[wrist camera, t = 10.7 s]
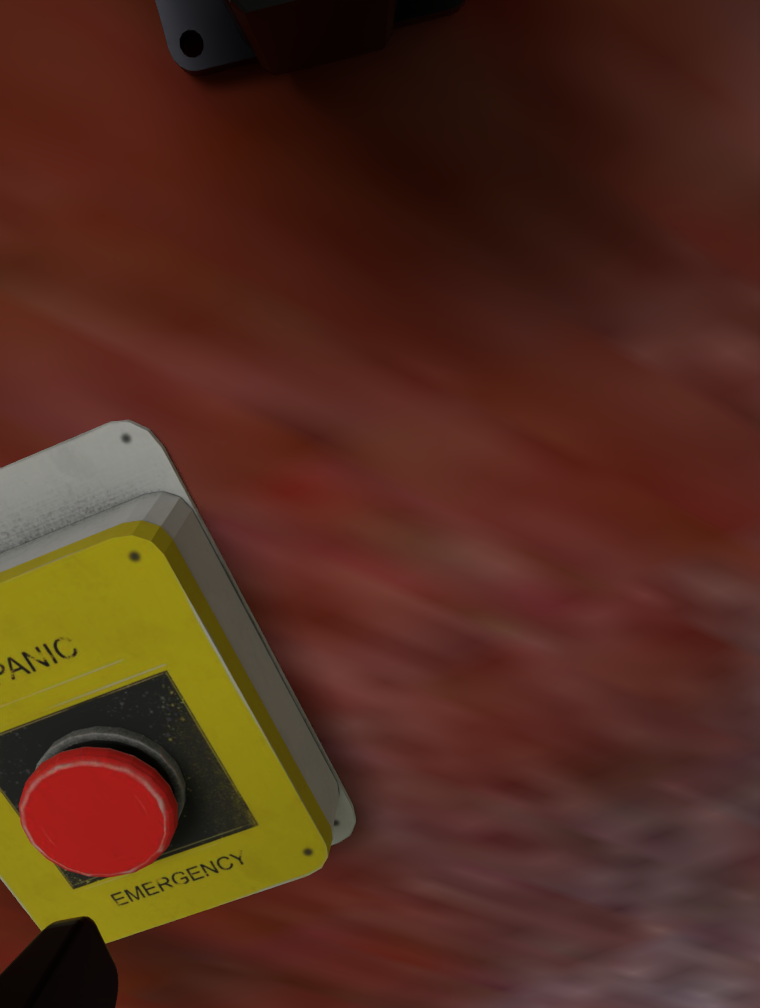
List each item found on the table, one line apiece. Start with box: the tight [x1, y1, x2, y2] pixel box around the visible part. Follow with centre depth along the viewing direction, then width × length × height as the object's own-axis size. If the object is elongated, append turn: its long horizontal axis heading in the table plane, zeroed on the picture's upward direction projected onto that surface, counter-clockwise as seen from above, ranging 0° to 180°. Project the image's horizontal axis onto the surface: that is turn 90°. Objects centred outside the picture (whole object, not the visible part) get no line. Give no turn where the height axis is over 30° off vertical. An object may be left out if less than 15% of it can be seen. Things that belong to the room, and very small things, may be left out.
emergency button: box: [0, 420, 356, 944], centre depth 19 cm, size 9×4×15 cm
